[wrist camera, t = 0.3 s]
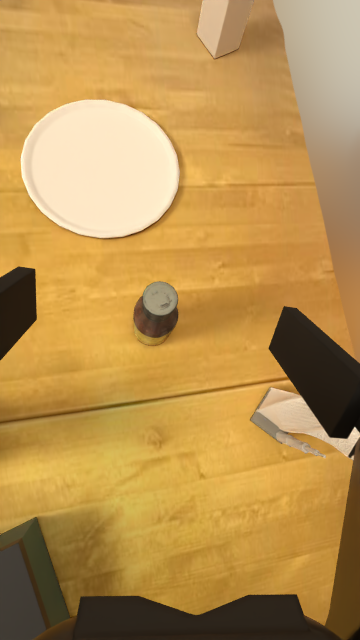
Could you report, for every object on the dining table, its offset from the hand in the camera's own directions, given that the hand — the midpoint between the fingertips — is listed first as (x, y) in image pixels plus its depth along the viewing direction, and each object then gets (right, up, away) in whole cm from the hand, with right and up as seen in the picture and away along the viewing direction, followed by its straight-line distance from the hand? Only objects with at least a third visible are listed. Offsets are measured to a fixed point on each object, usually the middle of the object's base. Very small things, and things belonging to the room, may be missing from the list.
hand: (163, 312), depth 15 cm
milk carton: (+9, +62, +49) cm, 80 cm away
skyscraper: (+18, -17, +37) cm, 44 cm away
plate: (-14, +28, +40) cm, 51 cm away
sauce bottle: (-4, -2, +36) cm, 36 cm away
